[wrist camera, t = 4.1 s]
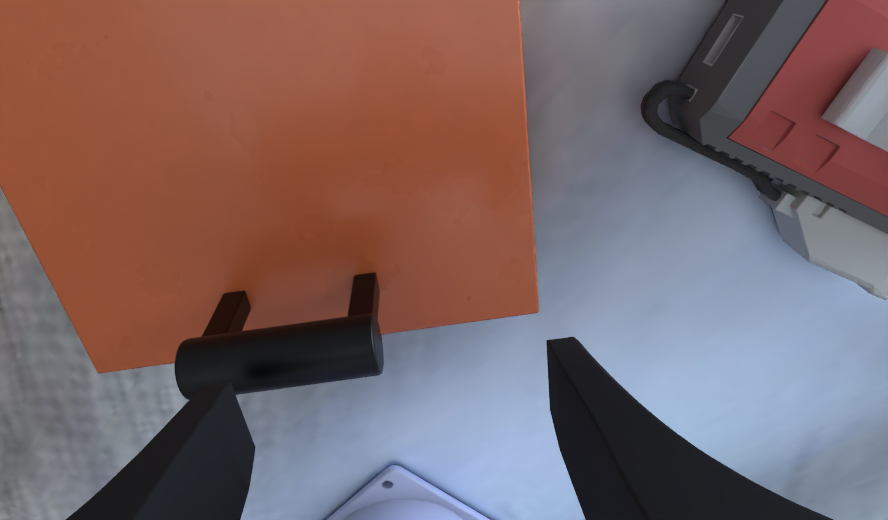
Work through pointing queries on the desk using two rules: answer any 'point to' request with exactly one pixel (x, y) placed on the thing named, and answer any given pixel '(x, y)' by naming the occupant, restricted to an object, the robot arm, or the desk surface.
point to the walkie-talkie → (797, 122)
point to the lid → (268, 177)
